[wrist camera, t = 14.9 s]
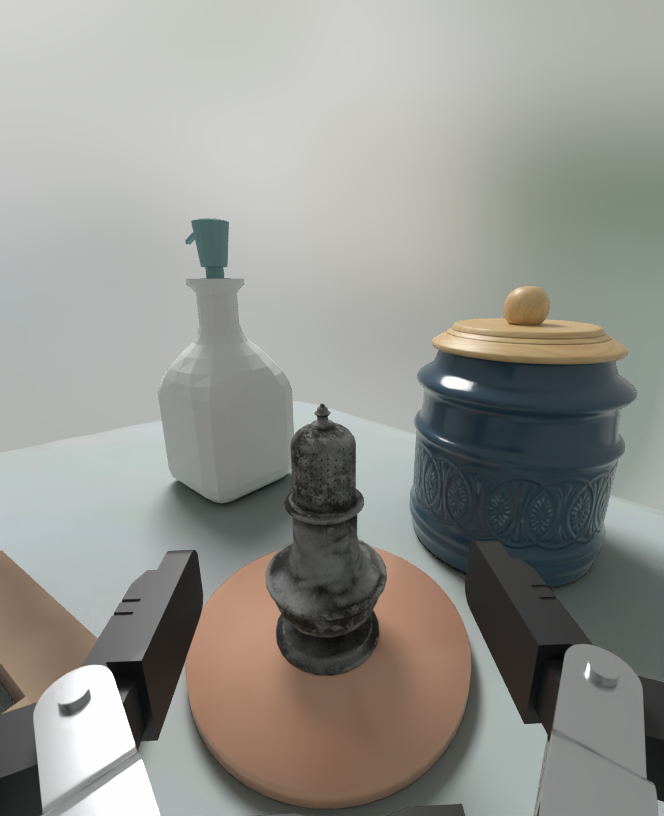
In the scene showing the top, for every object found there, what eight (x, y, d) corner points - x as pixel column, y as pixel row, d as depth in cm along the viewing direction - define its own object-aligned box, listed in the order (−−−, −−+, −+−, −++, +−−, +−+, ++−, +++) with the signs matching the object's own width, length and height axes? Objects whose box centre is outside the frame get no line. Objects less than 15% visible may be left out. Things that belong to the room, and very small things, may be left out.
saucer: (390, 926, 12) (392, 906, 11) (126, 675, 19) (122, 659, 19) (499, 611, 23) (501, 597, 22) (304, 530, 30) (304, 519, 30)
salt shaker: (407, 657, 19) (419, 415, 15) (284, 701, 17) (266, 437, 13) (357, 575, 24) (358, 382, 20) (260, 602, 22) (242, 394, 19)
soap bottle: (244, 449, 45) (227, 230, 38) (304, 476, 39) (296, 219, 32) (162, 480, 38) (122, 219, 31) (217, 517, 32) (183, 203, 25)
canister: (587, 508, 33) (634, 284, 28) (613, 624, 22) (701, 287, 16) (429, 477, 38) (443, 285, 33) (386, 557, 27) (396, 288, 22)
